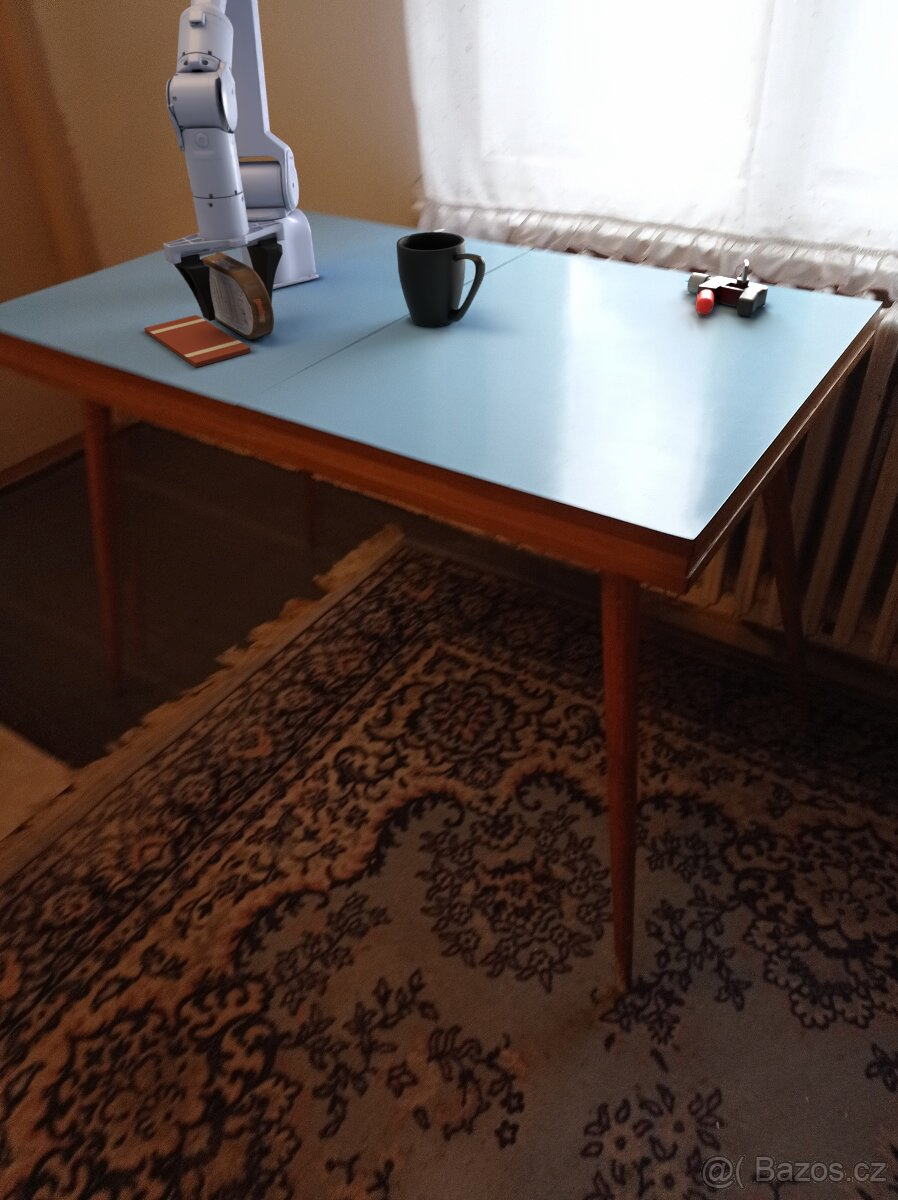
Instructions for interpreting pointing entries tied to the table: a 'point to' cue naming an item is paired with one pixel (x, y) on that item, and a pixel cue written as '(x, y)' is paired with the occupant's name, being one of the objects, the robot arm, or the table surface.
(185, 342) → the towel
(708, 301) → the red and grey device
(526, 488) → the table surface
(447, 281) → the mug
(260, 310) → the tin
